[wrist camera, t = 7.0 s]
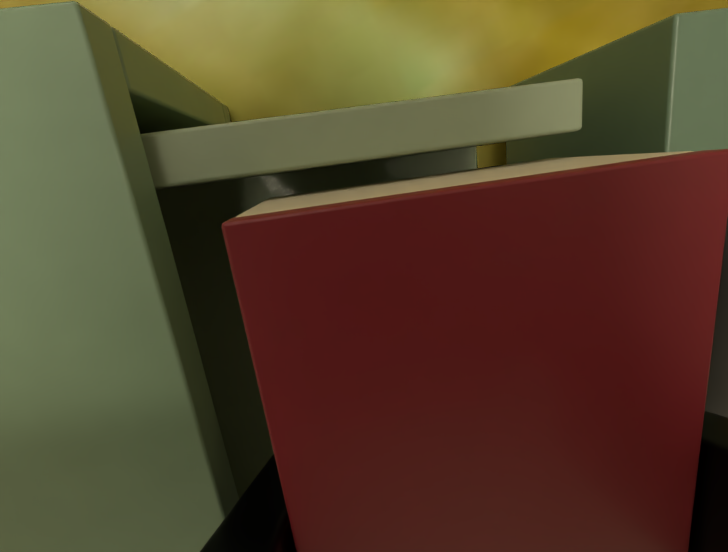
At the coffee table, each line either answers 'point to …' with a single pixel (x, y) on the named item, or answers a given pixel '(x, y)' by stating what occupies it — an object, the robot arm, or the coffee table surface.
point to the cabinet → (96, 301)
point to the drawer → (426, 174)
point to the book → (489, 353)
